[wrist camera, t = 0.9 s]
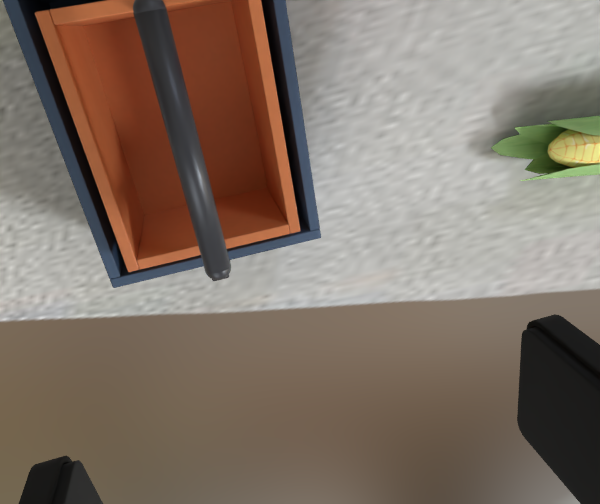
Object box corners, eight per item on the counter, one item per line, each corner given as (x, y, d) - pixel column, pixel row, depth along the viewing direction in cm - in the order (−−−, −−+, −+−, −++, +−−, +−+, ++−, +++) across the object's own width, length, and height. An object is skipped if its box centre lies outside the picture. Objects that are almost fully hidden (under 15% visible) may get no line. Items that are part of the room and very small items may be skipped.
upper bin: (69, 16, 27) (1, 8, 16) (238, -12, 28) (273, -36, 18) (138, 222, 32) (119, 313, 22) (276, 191, 33) (320, 263, 23)
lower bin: (37, -8, 26) (-5, -18, 20) (255, -42, 28) (276, -62, 22) (124, 241, 33) (113, 288, 27) (296, 201, 35) (321, 238, 29)
